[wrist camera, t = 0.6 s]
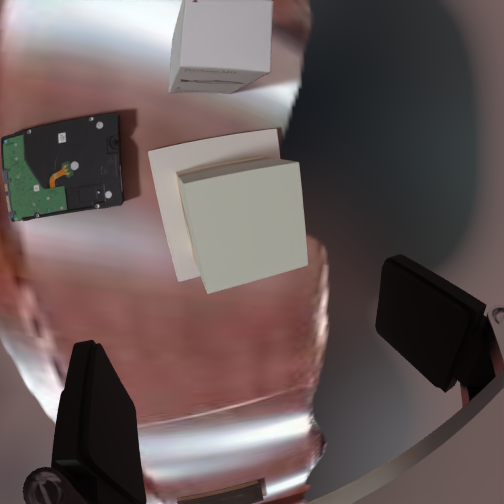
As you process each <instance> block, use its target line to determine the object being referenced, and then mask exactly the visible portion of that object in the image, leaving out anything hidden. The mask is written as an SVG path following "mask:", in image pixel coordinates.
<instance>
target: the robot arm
mask: <svg viewBox="0 0 504 504" xmlns="http://www.w3.org/2000/svg"><path fill="white" fill-rule="evenodd" d="M485 308H486V304H484V303H482V302H481V301H480V300H478V299H476V298H475V297H473V296H472V295H470V294H468V293H467V292H465V291H464V290H462V289H460V288H459V287H457V286H455V285H454V284H452V283H450V282H449V281H447V280H445V279H444V278H442V277H440V276H439V275H437V274H435V273H434V272H432V271H430V270H428V269H426V268H425V267H423V266H421V265H420V264H418V263H416V262H414V261H413V260H411V259H409V258H407V257H406V256H404V255H401V254H398V255H395V256H393V257H390V258H387V259H386V260H385V262H384V265H383V266H382V273H381V283H380V293H379V302H378V309H377V317H376V325H375V327H376V331H377V332H378V334H379V335H380V336H381V337H382V338H384V339H385V340H386V341H387V342H388V343H389V344H390V345H391V346H392V347H393V348H394V349H396V350H397V351H398V352H399V353H400V354H401V355H402V356H403V357H404V358H405V359H406V360H408V361H409V362H410V363H411V364H412V365H413V366H414V367H415V368H416V369H417V370H418V371H419V372H420V373H422V374H423V376H425V377H426V378H427V379H428V380H429V381H430V382H431V383H432V384H433V385H434V386H436V387H438V388H441V389H442V390H443V391H444V392H445V393H446V392H447V391H448V390H449V389H451V388H452V387H453V386H455V384H456V382H457V380H458V381H459V382H460V388H461V395H462V405H463V408H462V409H461V410H460V411H458V412H457V413H456V414H455V415H453V416H452V417H451V418H450V419H449V420H447V421H446V422H445V423H443V424H442V425H441V426H440V427H438V428H437V429H436V430H435V431H433V432H432V433H431V434H429V435H428V436H426V437H425V438H424V439H422V440H421V441H419V442H418V443H417V444H415V445H414V446H412V447H411V448H409V449H408V450H406V451H405V452H403V453H402V454H400V455H399V456H397V457H396V458H394V459H393V460H391V461H389V462H387V463H386V464H384V465H382V466H381V467H379V468H377V469H376V470H374V471H372V472H370V473H369V474H367V475H365V476H363V477H361V478H359V479H358V480H356V481H354V482H352V483H350V484H348V485H346V486H344V487H342V488H340V489H338V490H336V491H334V492H331V493H329V494H327V495H325V496H323V497H320V498H318V499H316V500H313V501H311V502H309V503H306V504H504V305H495V306H492V307H491V308H490V309H489V310H488V314H487V317H486V316H484V315H483V314H484V311H485ZM23 498H24V501H25V503H26V504H146V494H145V488H144V481H143V475H142V467H141V459H140V451H139V441H138V431H137V419H136V410H135V406H134V403H133V401H132V400H131V398H130V396H129V395H128V393H127V391H126V390H125V388H124V386H123V384H122V383H121V381H120V379H119V377H118V375H117V374H116V372H115V370H114V368H113V366H112V364H111V362H110V361H109V359H108V357H107V355H106V353H105V351H104V349H103V347H102V345H101V344H100V343H98V344H96V343H95V342H94V341H93V340H88V341H83V342H78V343H75V344H74V346H73V351H72V355H71V359H70V363H69V368H68V373H67V378H66V383H65V388H64V390H63V391H62V393H61V396H60V401H59V407H58V413H57V420H56V427H55V435H54V443H53V453H52V463H51V467H41V468H38V469H36V470H34V471H32V472H31V473H30V474H29V475H28V476H27V478H26V480H25V482H24V484H23Z"/></svg>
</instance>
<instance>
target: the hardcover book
mask: <svg viewBox="0 0 504 504" xmlns="http://www.w3.org/2000/svg"><path fill="white" fill-rule="evenodd" d="M177 500H178V502H177V503H178V504H252V503H256V502H259V501H262V500H263V495H262V490H261V485H260V483H258V480H255V481H252V482H248V483H244V484H241V485H237V486H233V487H229V488H225V489H221V490H217V491H212V492H207V493H202V494H197V495H192V496H186V497H180V498H177Z"/></svg>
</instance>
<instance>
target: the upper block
mask: <svg viewBox="0 0 504 504" xmlns="http://www.w3.org/2000/svg"><path fill="white" fill-rule="evenodd" d="M179 181H180V187H181V192H182V197H183V202H184V206H185V211H186V216H187V221H188V225H189V230H190V235H191V239H192V244H193V248H194V252H195V257H196V261H197V265H198V270H199V273H200V275H201V278H202V281H203V283H204V286H205V288H206V291H207V293H208V294H209V293H212V292H216V291H220V290H223V289H227V288H230V287H234V286H238V285H241V284H245V283H248V282H252V281H255V280H259V279H262V278H266V277H269V276H273V275H276V274H280V273H283V272H287V271H290V270H294V269H297V268H300V267H304V266H307V265H308V261H307V246H306V233H305V220H304V209H303V198H302V187H301V177H300V168H299V162H294V161H289V160H283V159H277V158H276V159H270V160H264V161H258V162H252V163H246V164H241V165H235V166H230V167H225V168H220V169H215V170H210V171H205V172H200V173H195V174H191V175H186V176H182V177H179Z"/></svg>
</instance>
